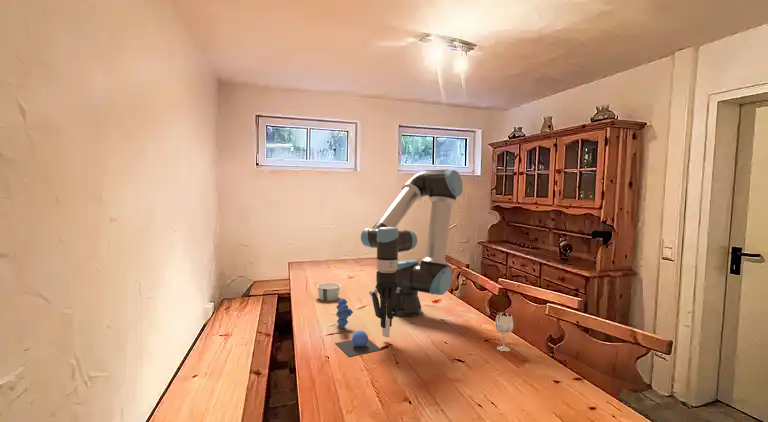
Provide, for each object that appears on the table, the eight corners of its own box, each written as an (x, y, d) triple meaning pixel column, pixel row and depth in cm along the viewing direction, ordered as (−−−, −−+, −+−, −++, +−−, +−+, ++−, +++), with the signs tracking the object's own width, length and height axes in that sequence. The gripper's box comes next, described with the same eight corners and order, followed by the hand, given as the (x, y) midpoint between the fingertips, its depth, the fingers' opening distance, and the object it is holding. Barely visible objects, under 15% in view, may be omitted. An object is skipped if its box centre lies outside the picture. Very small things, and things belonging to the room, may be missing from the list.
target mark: (365, 337, 137) (365, 337, 137) (381, 350, 127) (381, 349, 127) (335, 343, 132) (335, 343, 132) (348, 356, 121) (348, 356, 121)
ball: (349, 345, 130) (363, 342, 133) (356, 351, 125) (370, 348, 128) (349, 329, 130) (363, 327, 133) (356, 334, 125) (370, 332, 128)
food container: (339, 302, 182) (339, 288, 182) (314, 301, 182) (314, 288, 182) (342, 295, 194) (342, 282, 194) (318, 294, 194) (319, 282, 194)
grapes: (356, 332, 143) (356, 301, 142) (338, 334, 141) (339, 302, 140) (349, 322, 154) (350, 293, 153) (333, 323, 152) (333, 294, 151)
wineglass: (512, 347, 131) (513, 313, 131) (512, 353, 126) (513, 318, 125) (495, 344, 133) (496, 311, 132) (494, 351, 128) (495, 316, 127)
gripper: (375, 274, 127) (374, 343, 128) (408, 271, 133) (406, 336, 134) (365, 270, 133) (365, 335, 135) (397, 267, 140) (396, 329, 141)
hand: (385, 335), depth 134 cm, fingers closed
